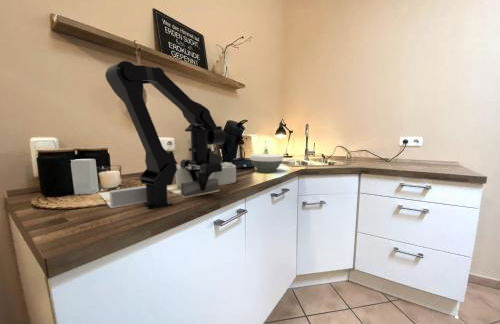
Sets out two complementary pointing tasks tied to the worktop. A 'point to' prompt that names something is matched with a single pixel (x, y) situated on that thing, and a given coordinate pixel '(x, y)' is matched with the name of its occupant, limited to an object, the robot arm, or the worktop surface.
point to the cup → (182, 176)
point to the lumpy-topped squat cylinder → (225, 174)
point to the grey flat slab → (125, 196)
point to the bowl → (266, 162)
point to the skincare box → (84, 176)
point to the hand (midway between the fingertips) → (200, 189)
